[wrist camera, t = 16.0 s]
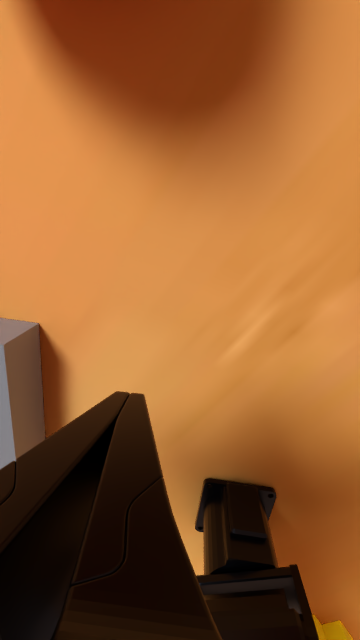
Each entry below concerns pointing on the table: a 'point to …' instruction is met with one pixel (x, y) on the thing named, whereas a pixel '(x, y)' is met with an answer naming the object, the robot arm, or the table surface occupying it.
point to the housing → (20, 389)
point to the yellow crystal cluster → (331, 630)
